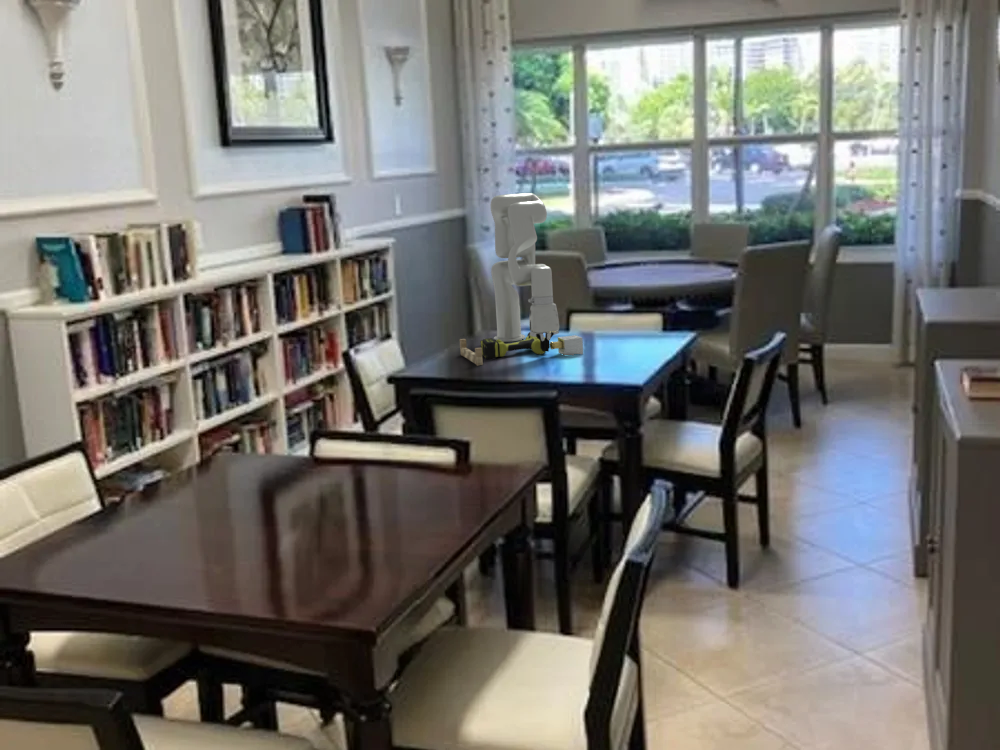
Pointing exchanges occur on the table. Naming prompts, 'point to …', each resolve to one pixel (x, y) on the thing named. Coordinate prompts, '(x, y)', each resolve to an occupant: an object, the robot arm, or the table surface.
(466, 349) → the rail
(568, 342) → the socket block
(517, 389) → the table surface
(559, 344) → the brass capped square peg
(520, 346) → the cordless drill
